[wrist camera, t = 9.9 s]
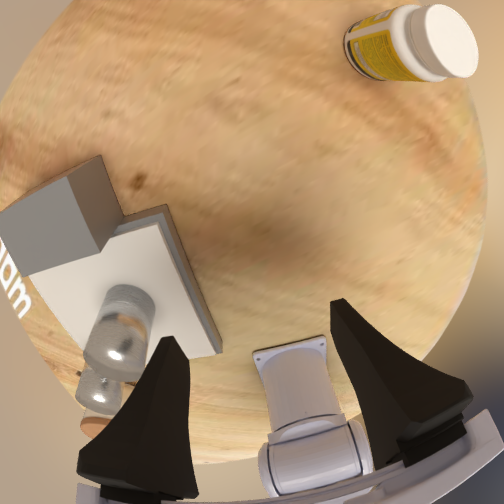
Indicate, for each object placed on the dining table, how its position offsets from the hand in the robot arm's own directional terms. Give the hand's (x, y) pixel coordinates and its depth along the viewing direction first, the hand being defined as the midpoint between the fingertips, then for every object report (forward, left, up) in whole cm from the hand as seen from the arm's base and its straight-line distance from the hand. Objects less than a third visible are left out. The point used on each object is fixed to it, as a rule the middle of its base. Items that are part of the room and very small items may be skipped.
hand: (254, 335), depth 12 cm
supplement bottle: (+12, -12, -10) cm, 20 cm away
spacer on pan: (-9, +16, -8) cm, 20 cm away
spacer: (-3, +10, -8) cm, 13 cm away
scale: (-2, +12, -10) cm, 16 cm away
